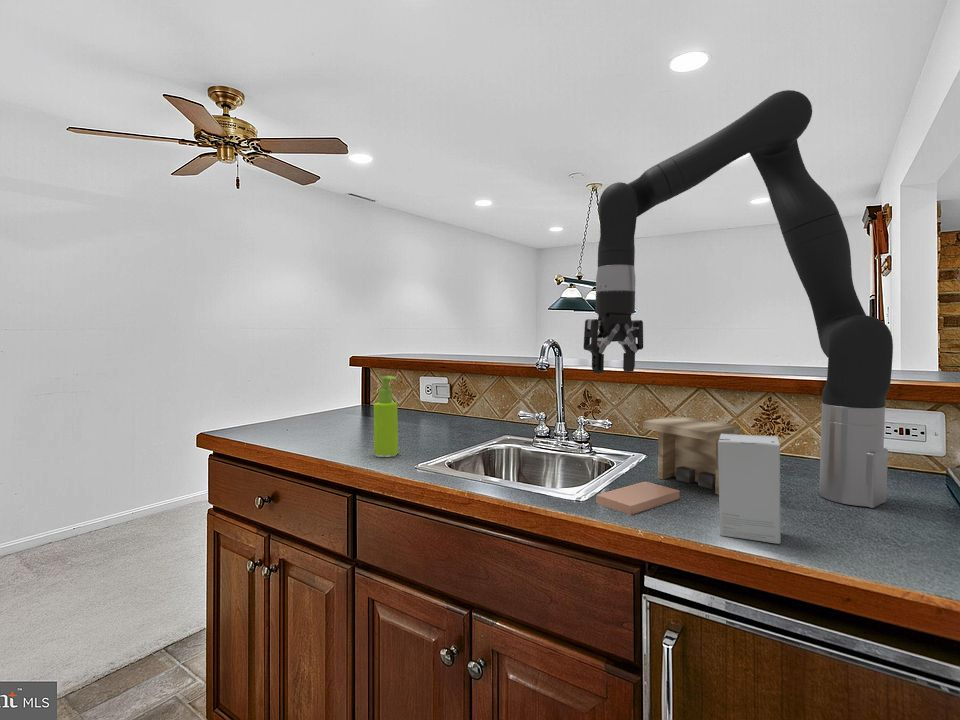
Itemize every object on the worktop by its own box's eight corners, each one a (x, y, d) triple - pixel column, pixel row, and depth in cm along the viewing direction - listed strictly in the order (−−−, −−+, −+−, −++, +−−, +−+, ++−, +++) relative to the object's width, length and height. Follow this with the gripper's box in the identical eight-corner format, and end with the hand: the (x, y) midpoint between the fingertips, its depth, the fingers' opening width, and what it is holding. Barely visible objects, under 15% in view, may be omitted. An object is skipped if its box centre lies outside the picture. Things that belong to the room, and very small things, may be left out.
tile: (679, 501, 94) (679, 490, 94) (630, 517, 86) (630, 506, 86) (645, 491, 100) (645, 481, 100) (596, 505, 92) (596, 494, 92)
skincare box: (779, 532, 78) (781, 435, 77) (780, 547, 73) (783, 443, 72) (718, 522, 82) (720, 431, 81) (716, 536, 77) (717, 438, 76)
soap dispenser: (384, 460, 124) (382, 377, 123) (370, 454, 129) (368, 375, 128) (404, 456, 128) (403, 376, 127) (390, 451, 133) (388, 374, 132)
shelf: (738, 489, 99) (740, 425, 98) (705, 500, 93) (707, 432, 92) (675, 473, 111) (676, 415, 110) (642, 481, 104) (642, 421, 104)
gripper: (603, 287, 94) (601, 375, 95) (655, 290, 102) (653, 372, 103) (575, 289, 100) (573, 372, 101) (625, 292, 108) (624, 369, 109)
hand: (613, 372), depth 102 cm, fingers open, 8 cm apart
